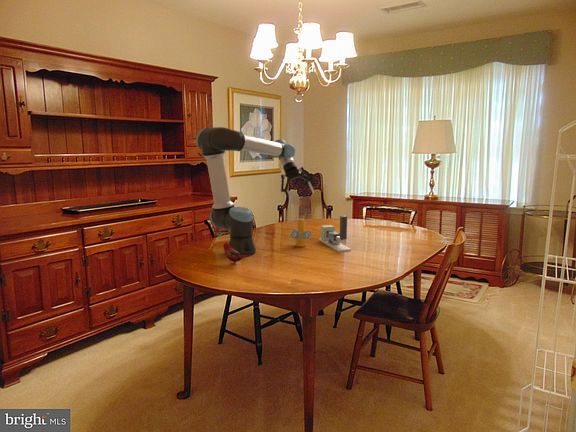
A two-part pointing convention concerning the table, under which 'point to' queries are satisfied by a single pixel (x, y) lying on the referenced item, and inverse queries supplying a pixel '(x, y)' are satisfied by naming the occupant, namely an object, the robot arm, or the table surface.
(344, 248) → the base plate
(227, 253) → the decorative bird figurine
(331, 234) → the outer sleeve
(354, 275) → the table surface
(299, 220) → the orange grey upright piece
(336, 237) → the grey upright bracket
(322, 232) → the socket block
